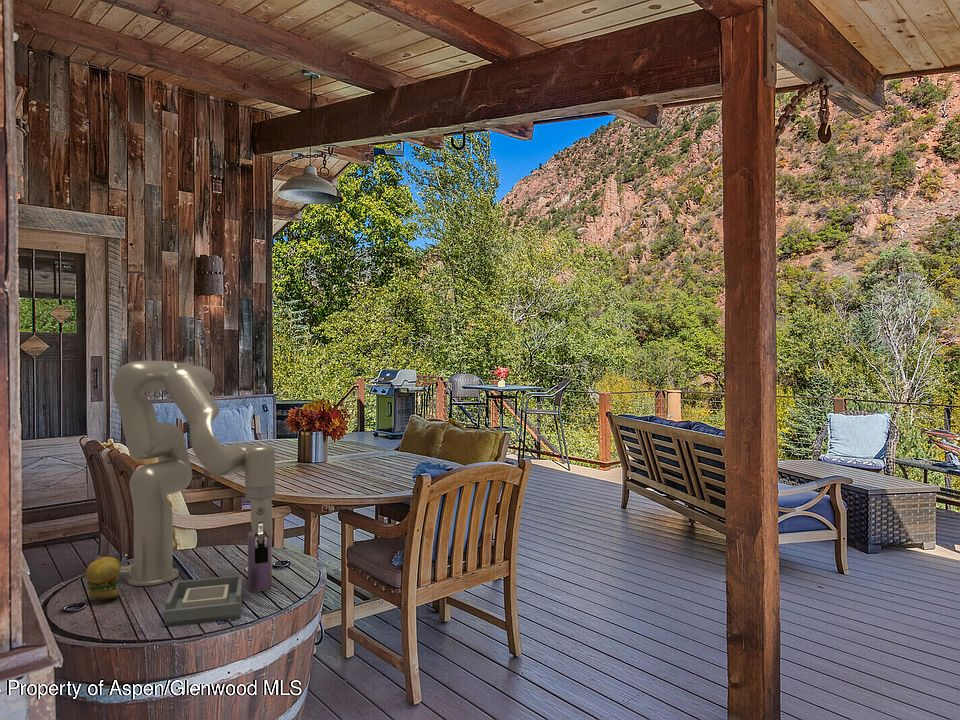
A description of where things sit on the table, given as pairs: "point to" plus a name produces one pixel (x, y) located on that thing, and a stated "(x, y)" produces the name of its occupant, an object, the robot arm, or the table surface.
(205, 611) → the box
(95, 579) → the hamburger
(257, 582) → the beverage can
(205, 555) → the table surface
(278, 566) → the table surface
